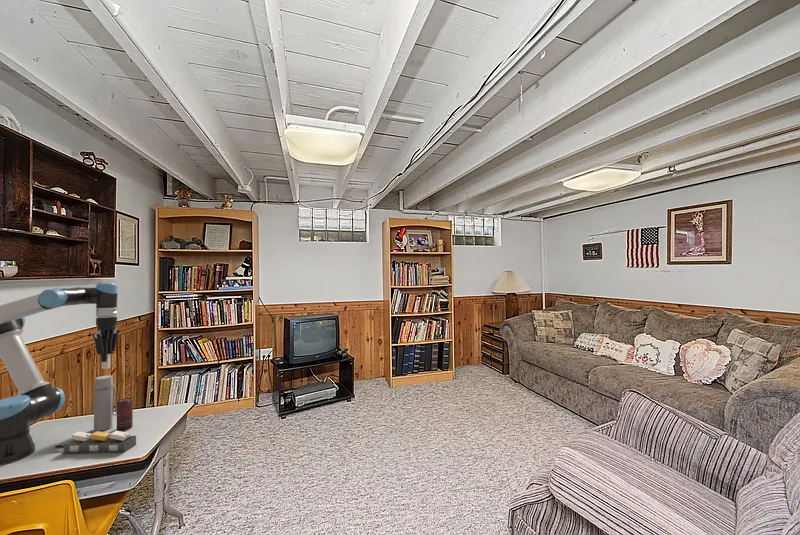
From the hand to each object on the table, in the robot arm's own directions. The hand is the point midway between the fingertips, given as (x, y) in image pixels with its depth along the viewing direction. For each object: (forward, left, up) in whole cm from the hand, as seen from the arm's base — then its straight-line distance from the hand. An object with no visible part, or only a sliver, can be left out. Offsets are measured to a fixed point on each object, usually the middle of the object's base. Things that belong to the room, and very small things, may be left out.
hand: (106, 368), depth 163 cm
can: (0, +12, -33) cm, 35 cm away
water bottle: (-10, +13, -33) cm, 36 cm away
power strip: (+2, -9, -32) cm, 34 cm away
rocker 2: (+13, -9, -27) cm, 31 cm away
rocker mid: (+5, -9, -27) cm, 29 cm away
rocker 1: (-3, -9, -27) cm, 28 cm away
